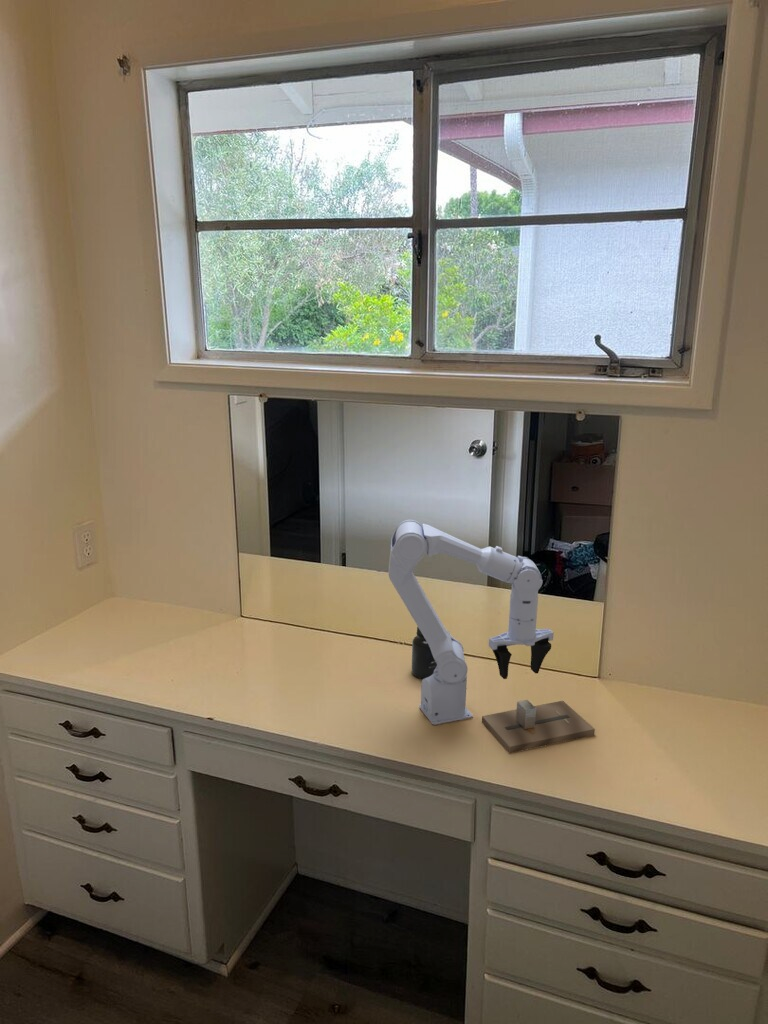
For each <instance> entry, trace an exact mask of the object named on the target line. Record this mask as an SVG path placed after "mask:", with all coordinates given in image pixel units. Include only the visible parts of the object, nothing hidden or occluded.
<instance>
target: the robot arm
mask: <svg viewBox="0 0 768 1024" xmlns="http://www.w3.org/2000/svg"><path fill="white" fill-rule="evenodd" d="M426 553H427V558H431V557H433V556H435V555H437V554H440V553H441V554H445V555H448V556H452V557H453V558H457V559H460V560H463V561H464V562H465V561H466V562H469V563H471V564H474V565H476V567H477V571H478V572H479V573H481V574H483V575H485V576H488V577H489V576H490V577H491V578H494V579H496V580H499V581H502V582H504V583H505V584H506V583H507V584H511V590H510V599H509V611H508V612H509V615H508V629H507V630H508V631H506V632H502V633H501V634H497V635H496V636H493V637H488V647H489V648H490V649H491V650H492V652H493V655H494V656H495V659H496V663H497V665H498V666H497V667H498V672H499V676H500V677H501V678H502V679H503V680H507V679H508V676H509V666H510V661H511V657H512V654H513V653H511V651H509V648H508V647H511V646H516V645H525V646H526V647H530V670H531V671H532V672H533V673H534V674H539V672H540V669H541V666H542V664H543V662H544V660H545V657H546V656H547V654H548V653H549V652H550V651H551V649H552V644H551V643H550V642H551V641H554V631H552V630H551V629H550V628H541V629H539V628H537V617H538V606H539V605H538V603H539V590H540V588H541V587H542V585H543V581H544V580H543V578H542V574H541V572H540V570H539V568H538V567H537V565H536V563H535V562H534V561H533V560H532V559H530V558H529V557H528V556H521V555H517V556H515V555H514V554H513V555H512V554H510V553H508V552H505V551H504V550H503V548H502V547H501V546H498V545H496V546H495V547H492V546H487V547H484V548H480V547H478V546H475V545H473V544H471V543H468V542H467V541H465V540H462V539H460V538H457V537H456V536H453V535H451V534H449V533H448V532H447V533H446V532H445V531H442V530H440V529H438V528H436V527H434V526H432V525H430V524H426V523H422V524H421V523H420V522H419V521H417V520H415V519H406V520H403V521H401V522H400V523H399V524H398V525H397V526H396V528H395V530H394V531H393V534H392V536H391V540H390V552H389V560H388V561H389V562H388V578H389V580H390V582H391V583H392V585H393V587H394V588H395V590H396V592H397V594H398V595H399V597H400V599H401V601H402V602H403V603H404V606H405V607H406V609H407V611H408V612H409V614H410V616H411V618H412V619H413V621H414V622H415V624H416V626H417V627H418V628H419V629H420V631H421V633H422V634H423V636H424V638H425V639H426V641H427V643H428V645H429V647H430V649H431V652H432V655H433V657H434V660H435V661H436V663H437V666H436V668H435V670H434V673H433V674H432V675H431V676H430V677H427V678H424V679H421V684H420V686H421V687H420V704H419V708H420V710H421V712H423V714H424V715H425V717H426V718H427V719H428V720H429V722H430V724H432V725H434V726H435V725H441V724H446V723H450V722H457V721H461V720H467V719H471V718H473V716H474V715H473V714H472V713H471V711H470V710H469V709H468V708H467V707H466V701H467V681H468V680H467V678H468V665H467V662H466V659H465V653H464V651H465V650H464V647H463V645H462V643H461V642H460V641H459V640H457V639H456V638H455V637H454V636H452V634H451V633H450V631H448V630H447V628H446V627H445V626H444V623H443V622H442V620H441V619H440V616H439V615H438V613H437V612H436V610H435V608H434V606H433V605H432V602H430V600H429V598H428V595H426V593H425V591H424V589H423V588H422V585H421V584H420V582H419V581H418V579H417V577H416V576H415V574H414V571H415V569H416V566H417V565H418V563H419V562H420V561H421V560H422V559H423V558H424V556H425V554H426Z"/></svg>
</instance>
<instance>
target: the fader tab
mask: <svg viewBox="0 0 768 1024" xmlns="http://www.w3.org/2000/svg"><path fill="white" fill-rule="evenodd" d="M534 706H535V705H533V704H532V703H531V702H530V701H529V700H528V699H524V700H520V701H519V700H518V701H516V709H517V712H516V721H517V722H518V723H519V724H520V725H521V726H522V727H523V728H524V729H528V728H533V727H535V717H536V708H535V707H534Z"/></svg>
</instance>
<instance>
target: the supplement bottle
mask: <svg viewBox="0 0 768 1024" xmlns="http://www.w3.org/2000/svg"><path fill="white" fill-rule="evenodd" d="M411 643H412V644H411V645H412V646H411V673H412V675H413V676H414V677H416V678H417V679H420V680H423V679H424V678H427V677H430V676H431V675H432V674H433V673H434V670H435V668H436V666H437V663H436V661H435V660H434V657H433V655H432V652H431V649H430V647H429V645H428V643H427V641H426V639H425V638H424V636H423V634H422V633H421V631H420V629H419V628H418V626H417V627H416V635H415V636H414V637H413V639H412V642H411Z"/></svg>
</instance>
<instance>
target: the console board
mask: <svg viewBox="0 0 768 1024" xmlns="http://www.w3.org/2000/svg"><path fill="white" fill-rule="evenodd" d="M533 706H534V707H535V708H536V717H535V727H533V728H528V729H524V728H523V727H522V726H521V725H520V724H519V723H518V722H517V721H516V712H517V708H516V709H512V710H507V711H501V712H496V713H492V714H491V713H490V714H486V715H482V716H481V723H482V725H484V727H486V729H487V730H488V732H490V734H491V735H492V736H493V737H494V738H495V739H496V740H497V741H498V742H499V744H500V745H501V746H502V747H503V748H504V749H505V750H506V751H507V753H508V754H513V753H517V752H518V753H519V752H522V750H523V751H526V750H527V749H528V750H530V749H537V748H540V747H541V746H542V747H545V745H546V746H550V745H555V744H560V743H565V742H568V741H574V740H579V739H583V738H588V737H593V736H595V731H596V729H595V727H593V726H592V725H591V724H590V723H589V722H588V721H586V719H584V718H583V717H582V716H581V715H580V714H579V713H578V712H576V710H574V709H573V708H572V707H571V706H570V705H568V703H566V702H565V701H564V700H559V701H553V702H549V703H544V704H538V705H533Z"/></svg>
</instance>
